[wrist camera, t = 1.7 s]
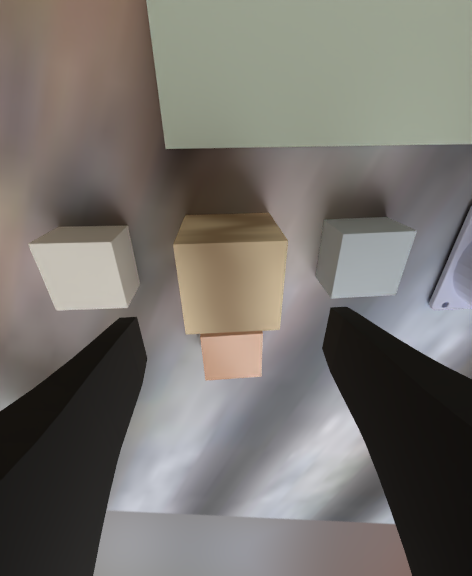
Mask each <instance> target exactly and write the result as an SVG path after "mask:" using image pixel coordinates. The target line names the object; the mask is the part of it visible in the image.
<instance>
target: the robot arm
mask: <svg viewBox="0 0 472 576" xmlns="http://www.w3.org/2000/svg"><path fill="white" fill-rule="evenodd" d="M429 307H430V308H432V309H433V310H453V309H472V206H471V208H470V210H469V212H468V215H467V217H466V219H465V221H464V224H463V226H462V228H461V231H460V233H459V235H458V238H457V240H456V242H455V245H454V247H453V249H452V251H451V254H450V256H449V258H448V261H447V263H446V265H445V268H444V270H443V272H442V274H441V277H440V279H439V281H438V284H437V286H436V288H435V291H434V293H433V295H432V298H431V300H430V302H429ZM322 349H323V352H324V355H325V358H326V361H327V364H328V367H329V369H330V372H331V374H332V376H333V378H334V380H335V382H336V384H337V386H338V389H339V391H340V393H341V395H342V396H343V398H344V400H345V402H346V404H347V406H348V408H349V410H350V412H351V414H352V416H353V418H354V420H355V422H356V424H357V426H358V428H359V430H360V432H361V435H362V437H363V439H364V441H365V443H366V446H367V448H368V451H369V454H370V456H371V459H372V461H373V464H374V466H375V469H376V471H377V474H378V477H379V479H380V482H381V485H382V488H383V490H384V493H385V496H386V498H387V501H388V504H389V507H390V509H391V512H392V515H393V518H394V521H395V524H396V527H397V530H398V533H399V536H400V539H401V542H402V544H403V548H404V550H405V553H406V557H407V560H408V563H409V566H410V570H411V573H412V576H472V379H470V378H468V377H466V376H464V375H462V374H460V373H458V372H456V371H454V370H452V369H450V368H448V367H446V366H444V365H442V364H440V363H438V362H437V361H435V360H433V359H431V358H430V357H428V356H426V355H424V354H423V353H421V352H419V351H417V350H416V349H414V348H412V347H410V346H409V345H407V344H405V343H404V342H402V341H401V340H399V339H397V338H396V337H394V336H393V335H391V334H389V333H388V332H386V331H385V330H383V329H382V328H380V327H378V326H377V325H375V324H374V323H372V322H371V321H369V320H368V319H366V318H364V317H363V316H361V315H360V314H358V313H356V312H355V311H353V310H351V309H350V308H348V307H332V308H331V309H330V314H329V318H328V323H327V328H326V333H325V338H324V342H323V347H322ZM146 362H147V355H146V351H145V347H144V343H143V339H142V335H141V331H140V328H139V324H138V320H137V317H126V318H119V319H118V320H116V321H115V322H114V323H113V324H112V325H110V326H109V327H108V328H107V329H106V330H105V331H104V332H102V333H101V334H100V335H99V336H98V337H97V338H96V339H94V340H93V341H92V342H91V343H90V344H89V345H87V346H86V347H85V348H84V349H83V350H81V351H80V352H79V353H78V354H77V355H76V356H74V357H73V358H72V359H71V360H69V361H68V362H67V363H66V364H64V365H63V366H62V367H61V368H59V369H58V370H57V371H56V372H54V373H53V374H52V375H50V376H49V377H48V378H47V379H45V380H44V381H43V382H41V383H40V384H39V385H37V386H36V387H35V388H33V389H32V390H31V391H29V392H28V393H26V394H25V395H24V396H22V397H21V398H19V399H18V400H16V401H15V402H13V403H12V404H10V405H9V406H7V407H6V408H5V409H3V410H2V411H0V576H93V573H94V568H95V563H96V558H97V552H98V547H99V542H100V537H101V532H102V527H103V523H104V518H105V513H106V509H107V504H108V499H109V495H110V491H111V486H112V482H113V478H114V473H115V469H116V465H117V461H118V457H119V454H120V451H121V447H122V444H123V441H124V438H125V435H126V432H127V429H128V426H129V423H130V420H131V417H132V414H133V411H134V408H135V405H136V402H137V399H138V396H139V393H140V390H141V386H142V383H143V378H144V373H145V368H146Z"/></svg>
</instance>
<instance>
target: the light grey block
mask: <svg viewBox="0 0 472 576" xmlns="http://www.w3.org/2000/svg"><path fill="white" fill-rule="evenodd" d="M28 245H29V247H30V250H31V252H32V254H33V257H34V259H35V262H36V264H37V266H38V269H39V271H40V273H41V276H42V278H43V280H44V283H45V285H46V287H47V290H48V292H49V294H50V297H51V299H52V302H53V304H54V306H55V309H56V310H81V309H108V308H128V306H129V304H130V302H131V301H132V299H133V297H134V295H135V293H136V291H137V289H138V287H139V285H140V281H139V276H138V271H137V267H136V262H135V257H134V253H133V248H132V243H131V239H130V234H129V229H128V226H75V227H57V228H55V229H54V230H52V231H50V232H48V233H47V234H45V235H43V236H41V237H39V238H38V239H36V240H34V241H32V242H31V243H29V244H28Z"/></svg>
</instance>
